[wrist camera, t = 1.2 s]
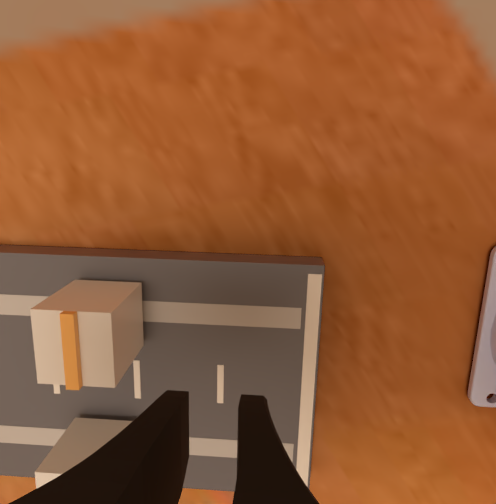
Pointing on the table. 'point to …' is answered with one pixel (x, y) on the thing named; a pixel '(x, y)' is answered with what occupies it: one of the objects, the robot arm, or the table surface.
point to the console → (171, 350)
